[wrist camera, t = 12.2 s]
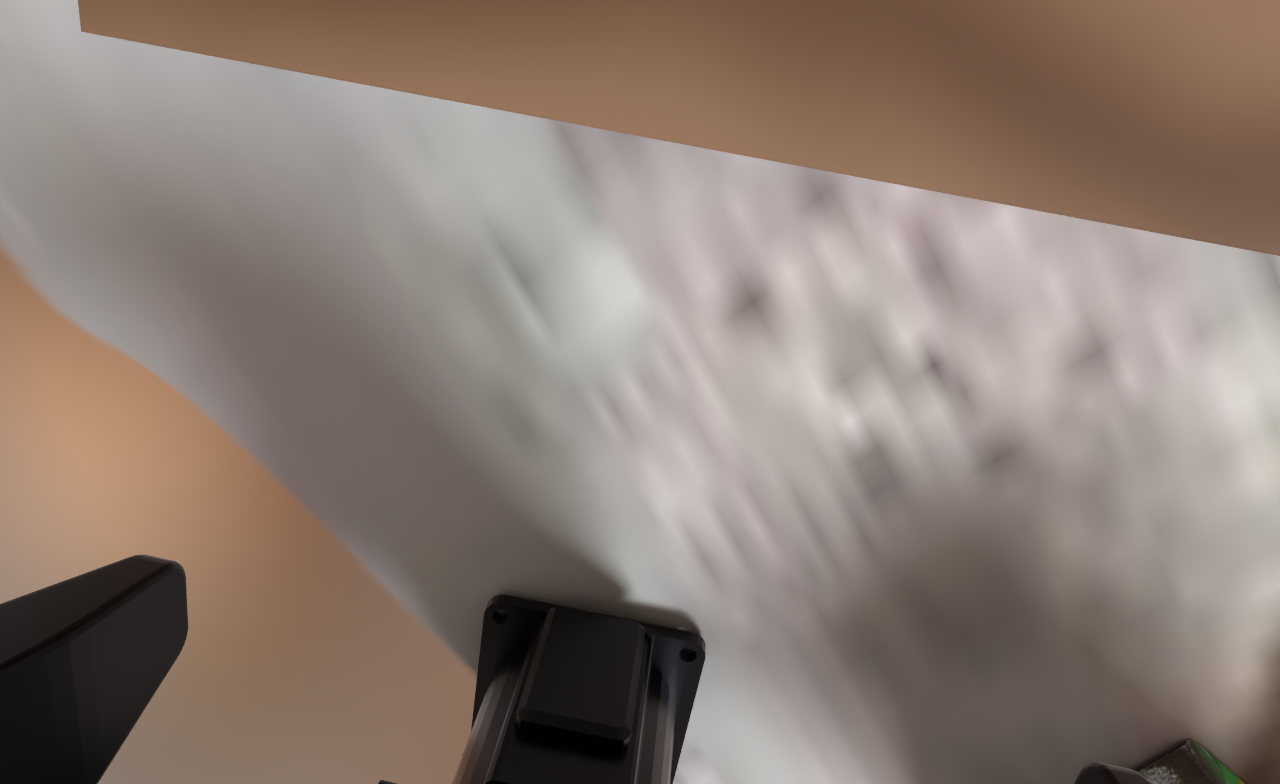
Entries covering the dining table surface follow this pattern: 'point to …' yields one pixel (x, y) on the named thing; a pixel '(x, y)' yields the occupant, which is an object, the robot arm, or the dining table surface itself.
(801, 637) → the dining table surface
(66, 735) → the robot arm
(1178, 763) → the chalk box
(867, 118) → the keyhole plate
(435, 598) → the dining table surface
